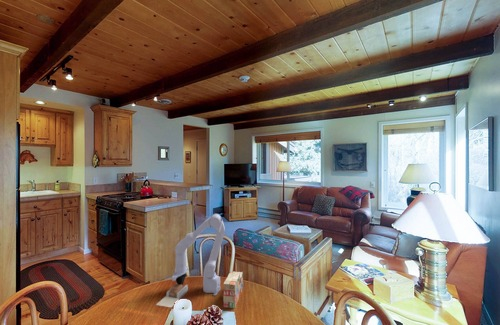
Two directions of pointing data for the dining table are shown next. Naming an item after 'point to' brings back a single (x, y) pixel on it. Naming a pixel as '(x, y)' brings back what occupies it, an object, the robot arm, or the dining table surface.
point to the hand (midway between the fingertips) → (180, 287)
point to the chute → (172, 297)
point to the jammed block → (175, 289)
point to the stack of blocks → (232, 289)
